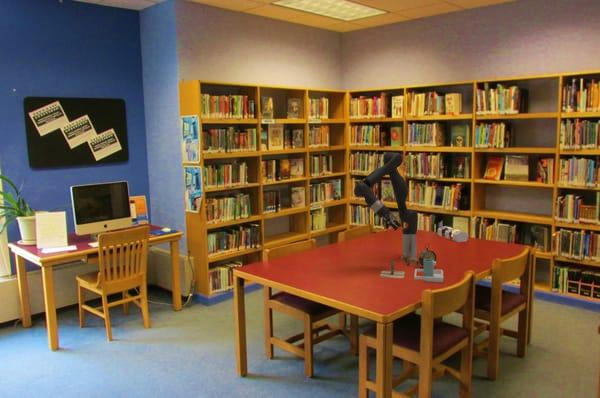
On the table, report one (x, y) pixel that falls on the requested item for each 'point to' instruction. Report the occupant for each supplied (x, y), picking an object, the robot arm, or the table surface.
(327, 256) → the table surface
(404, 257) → the lion figurine
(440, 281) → the tray
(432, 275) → the blue grey tall block
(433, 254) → the alarm clock
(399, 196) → the robot arm
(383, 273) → the stake base
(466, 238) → the white black banded cylinder
